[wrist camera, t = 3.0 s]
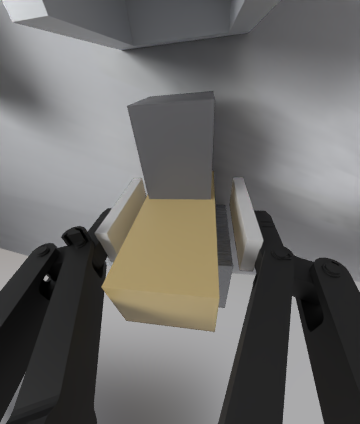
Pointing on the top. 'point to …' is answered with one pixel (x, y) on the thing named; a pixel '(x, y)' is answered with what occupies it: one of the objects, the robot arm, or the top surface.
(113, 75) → the top surface
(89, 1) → the socket
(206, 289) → the two-tone stepped block
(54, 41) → the top surface
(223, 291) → the gray block
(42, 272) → the robot arm
